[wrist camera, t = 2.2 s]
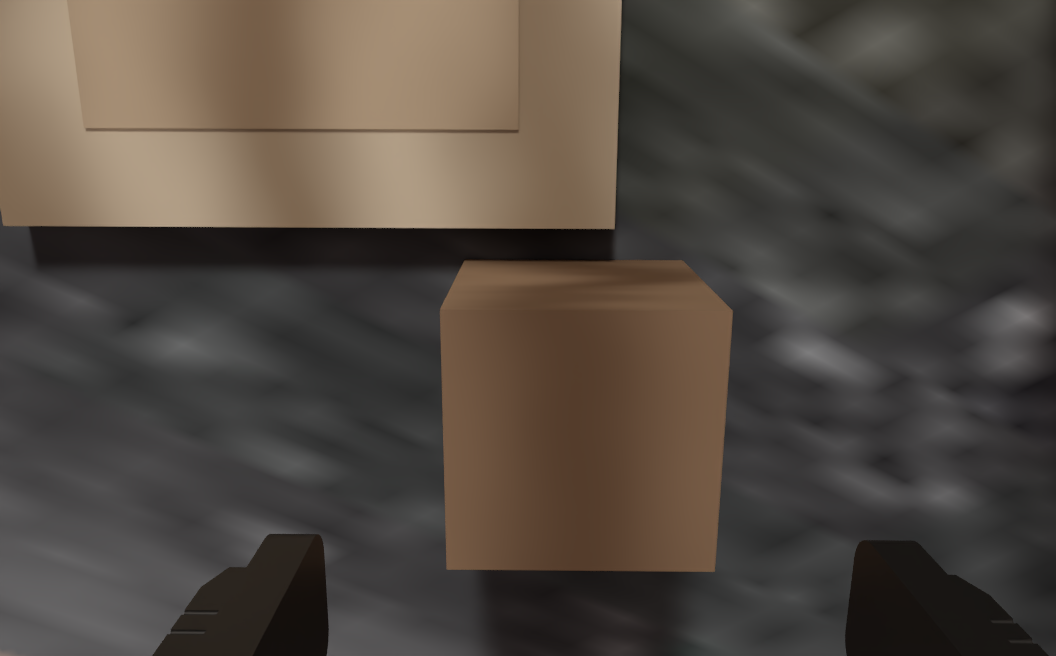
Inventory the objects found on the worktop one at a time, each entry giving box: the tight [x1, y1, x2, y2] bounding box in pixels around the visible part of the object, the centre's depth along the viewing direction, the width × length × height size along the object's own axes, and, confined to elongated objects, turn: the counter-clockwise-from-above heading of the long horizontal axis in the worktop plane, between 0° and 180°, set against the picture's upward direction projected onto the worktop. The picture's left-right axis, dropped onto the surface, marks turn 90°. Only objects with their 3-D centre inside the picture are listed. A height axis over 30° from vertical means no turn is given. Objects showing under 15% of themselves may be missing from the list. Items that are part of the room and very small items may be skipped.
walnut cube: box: [440, 259, 733, 572], centre depth 20 cm, size 6×6×6 cm
